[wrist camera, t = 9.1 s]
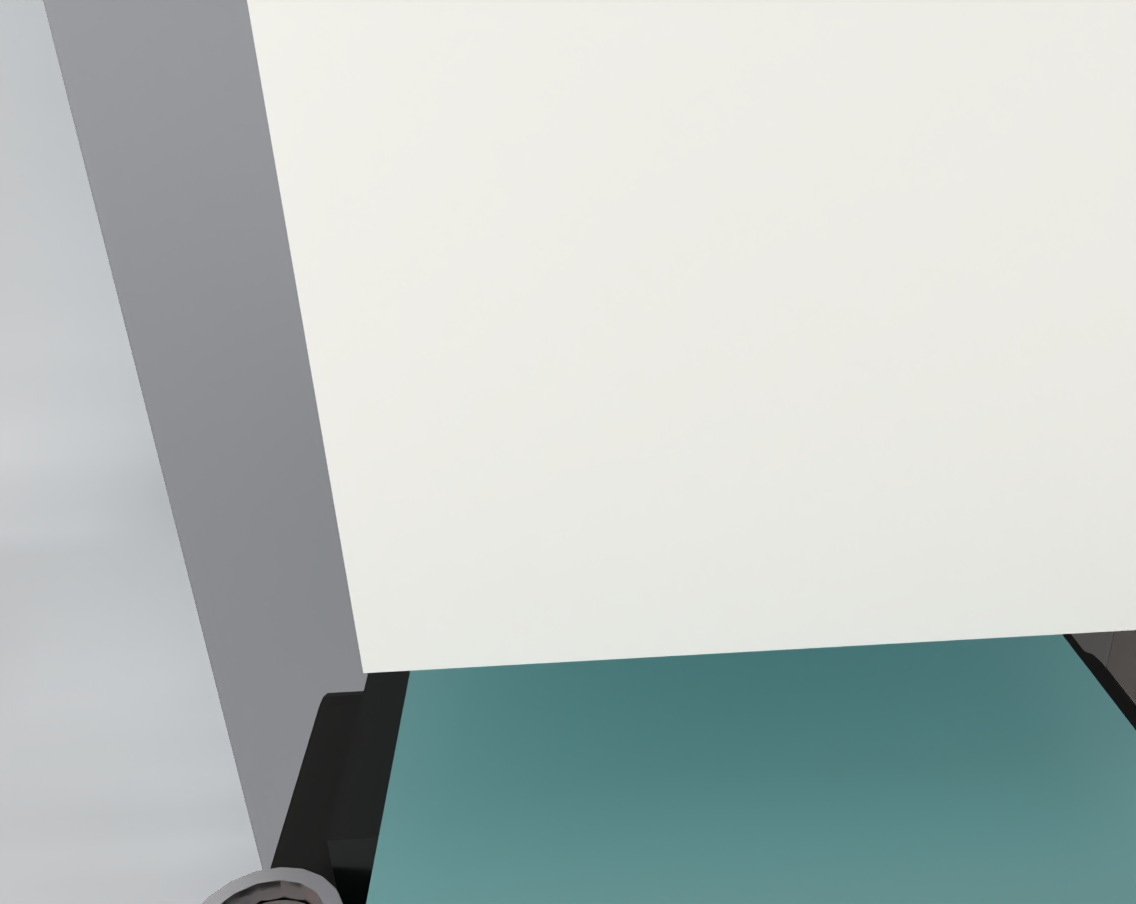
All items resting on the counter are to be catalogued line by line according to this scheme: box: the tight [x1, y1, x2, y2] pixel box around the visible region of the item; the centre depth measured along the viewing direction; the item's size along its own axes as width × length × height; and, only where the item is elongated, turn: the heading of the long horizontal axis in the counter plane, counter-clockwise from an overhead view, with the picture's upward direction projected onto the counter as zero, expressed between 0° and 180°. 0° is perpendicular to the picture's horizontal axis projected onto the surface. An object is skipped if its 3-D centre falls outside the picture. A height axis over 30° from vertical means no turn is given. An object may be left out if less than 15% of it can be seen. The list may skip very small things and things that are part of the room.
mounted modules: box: [247, 0, 1136, 673], centre depth 11 cm, size 6×18×6 cm, turn 3°
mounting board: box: [43, 0, 1114, 870], centre depth 15 cm, size 14×24×1 cm, turn 3°
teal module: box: [366, 634, 1136, 904], centre depth 10 cm, size 6×4×7 cm
